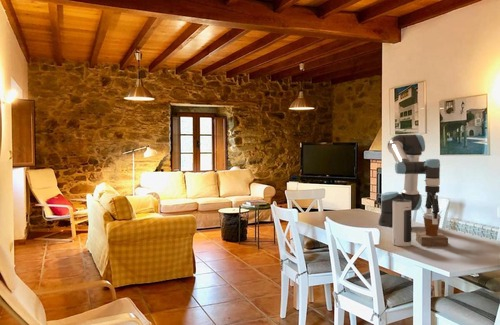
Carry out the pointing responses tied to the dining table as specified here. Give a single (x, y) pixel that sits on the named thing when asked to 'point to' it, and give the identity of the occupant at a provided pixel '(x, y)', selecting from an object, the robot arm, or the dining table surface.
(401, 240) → the speaker
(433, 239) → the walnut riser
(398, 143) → the robot arm
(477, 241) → the dining table surface
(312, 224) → the dining table surface
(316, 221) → the dining table surface
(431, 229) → the disposable coffee cup
